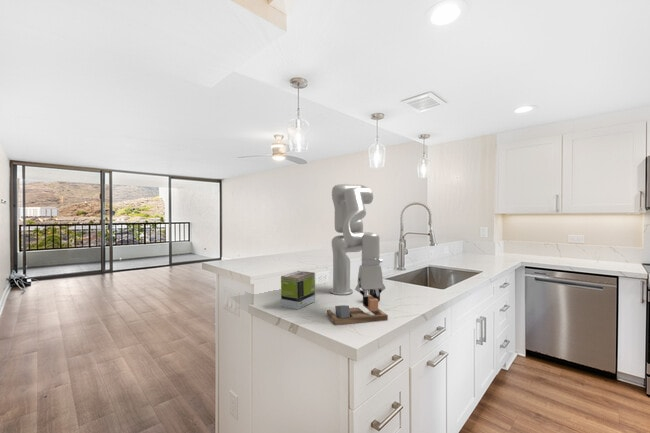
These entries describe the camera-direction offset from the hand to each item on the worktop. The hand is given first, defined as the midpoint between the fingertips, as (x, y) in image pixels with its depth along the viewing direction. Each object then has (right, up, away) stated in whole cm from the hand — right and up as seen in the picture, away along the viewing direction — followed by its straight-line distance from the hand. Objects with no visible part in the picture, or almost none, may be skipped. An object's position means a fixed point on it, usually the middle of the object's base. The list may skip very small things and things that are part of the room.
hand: (370, 304), depth 128 cm
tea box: (-32, -5, +16) cm, 36 cm away
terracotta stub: (0, -1, 0) cm, 1 cm away
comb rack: (-6, -5, -2) cm, 8 cm away
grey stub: (-12, -4, -5) cm, 14 cm away
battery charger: (+5, -5, +22) cm, 23 cm away
